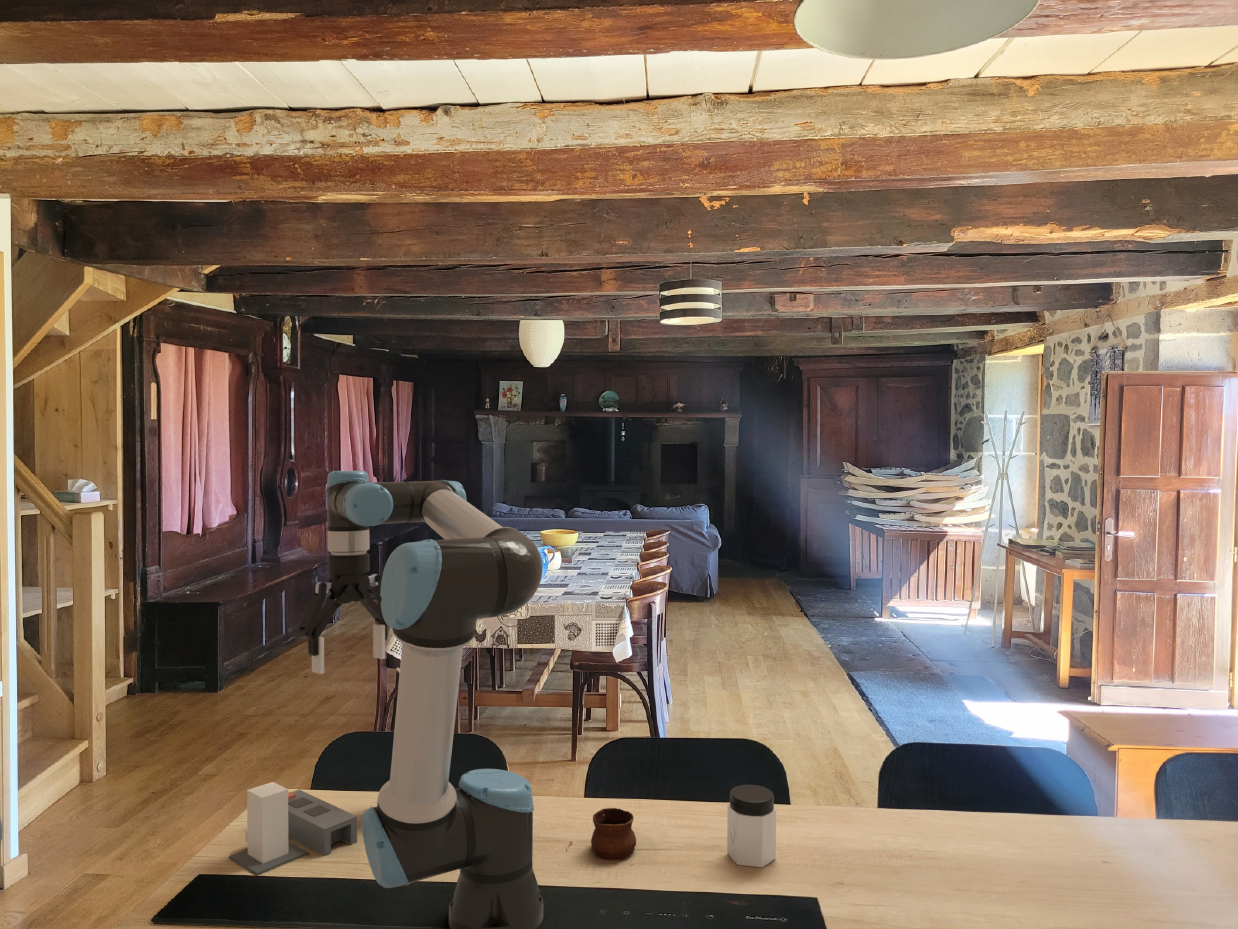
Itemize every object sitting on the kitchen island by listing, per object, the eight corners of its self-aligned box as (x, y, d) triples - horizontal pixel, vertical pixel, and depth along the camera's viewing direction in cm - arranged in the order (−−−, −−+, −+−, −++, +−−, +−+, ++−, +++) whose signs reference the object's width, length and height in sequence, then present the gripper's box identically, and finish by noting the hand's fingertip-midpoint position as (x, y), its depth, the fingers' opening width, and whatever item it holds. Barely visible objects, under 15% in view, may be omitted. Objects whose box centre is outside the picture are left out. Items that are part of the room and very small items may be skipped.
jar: (721, 848, 162) (721, 786, 162) (759, 843, 165) (760, 781, 164) (741, 871, 154) (742, 805, 153) (782, 865, 156) (782, 800, 156)
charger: (288, 853, 159) (288, 789, 158) (262, 863, 155) (262, 798, 154) (265, 839, 164) (264, 777, 164) (239, 849, 160) (239, 786, 160)
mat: (308, 854, 159) (308, 852, 159) (257, 875, 151) (257, 873, 151) (279, 838, 165) (279, 836, 165) (228, 858, 157) (228, 856, 157)
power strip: (357, 842, 164) (356, 813, 164) (324, 855, 158) (324, 826, 158) (299, 813, 176) (299, 786, 176) (267, 825, 171) (267, 797, 171)
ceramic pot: (549, 862, 157) (550, 825, 156) (590, 824, 173) (591, 790, 173) (640, 885, 150) (641, 845, 149) (674, 843, 166) (675, 807, 166)
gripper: (389, 545, 173) (390, 649, 173) (276, 557, 153) (277, 676, 153) (413, 547, 168) (414, 654, 169) (301, 560, 148) (302, 682, 149)
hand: (349, 665), depth 161 cm, fingers open, 13 cm apart
